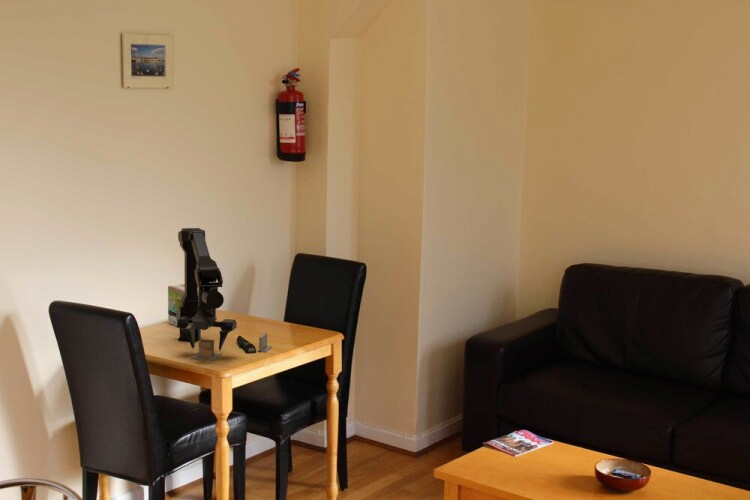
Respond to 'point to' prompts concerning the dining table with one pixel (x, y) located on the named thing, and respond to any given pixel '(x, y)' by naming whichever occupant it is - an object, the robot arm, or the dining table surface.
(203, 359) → the pad
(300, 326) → the dining table surface
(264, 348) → the gray angled bracket
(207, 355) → the walnut block
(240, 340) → the electric trimmer
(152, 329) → the dining table surface
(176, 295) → the tea box
